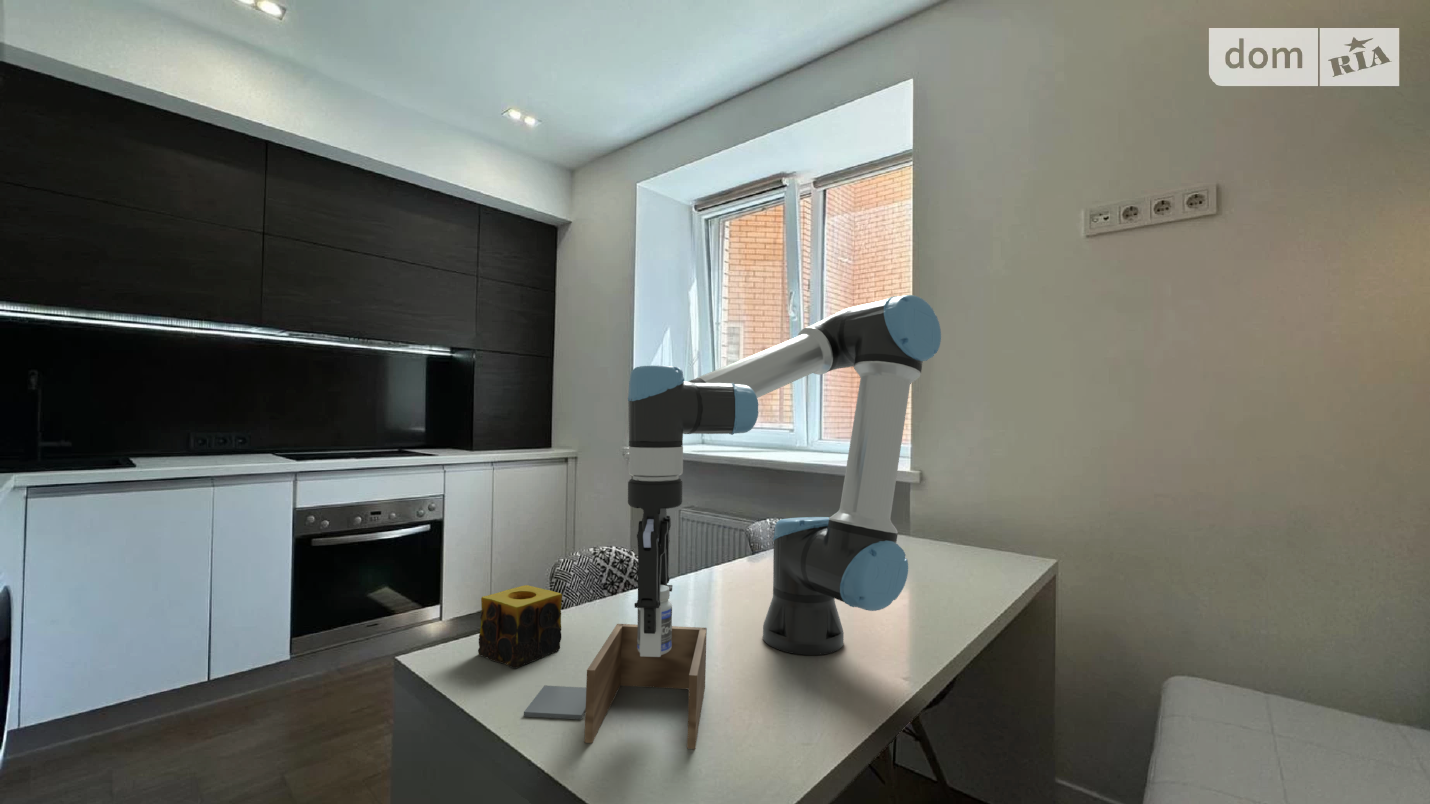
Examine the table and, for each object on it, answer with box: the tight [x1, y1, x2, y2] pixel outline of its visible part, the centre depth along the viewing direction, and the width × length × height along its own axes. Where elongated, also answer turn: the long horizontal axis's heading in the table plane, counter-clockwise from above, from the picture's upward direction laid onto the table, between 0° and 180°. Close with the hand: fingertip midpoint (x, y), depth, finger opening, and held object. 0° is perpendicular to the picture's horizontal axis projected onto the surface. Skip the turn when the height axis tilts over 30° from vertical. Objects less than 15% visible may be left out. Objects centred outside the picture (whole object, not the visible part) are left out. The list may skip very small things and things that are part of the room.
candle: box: [477, 584, 563, 669], centre depth 100 cm, size 10×10×10 cm
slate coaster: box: [523, 684, 586, 720], centre depth 82 cm, size 8×8×1 cm
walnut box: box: [583, 623, 708, 750], centre depth 80 cm, size 14×17×9 cm
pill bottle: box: [637, 585, 673, 655], centre depth 79 cm, size 5×5×8 cm
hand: (654, 646), depth 79 cm, fingers closed on pill bottle, 5 cm apart
